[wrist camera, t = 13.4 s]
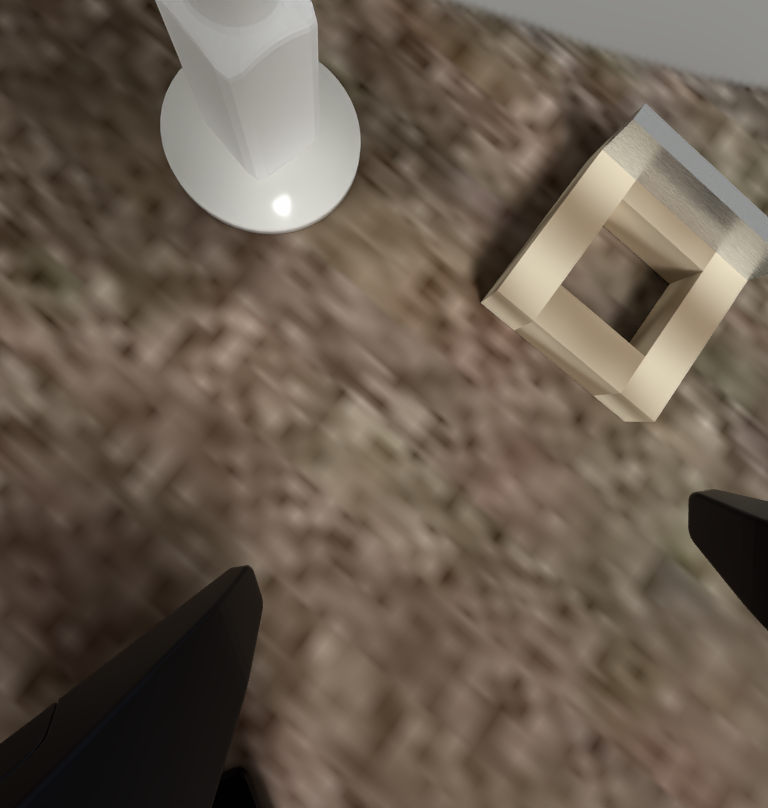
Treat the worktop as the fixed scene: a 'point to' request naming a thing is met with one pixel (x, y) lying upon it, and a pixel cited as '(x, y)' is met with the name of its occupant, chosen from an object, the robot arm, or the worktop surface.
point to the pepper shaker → (251, 74)
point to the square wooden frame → (653, 243)
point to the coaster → (281, 191)
